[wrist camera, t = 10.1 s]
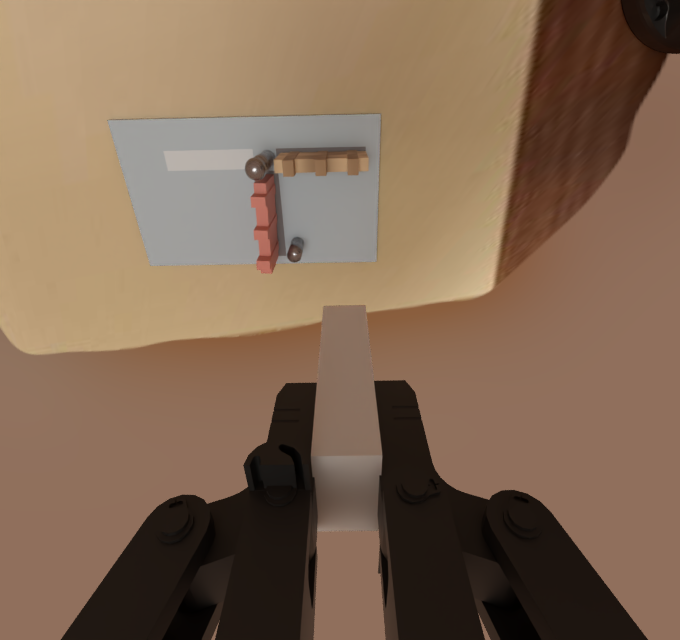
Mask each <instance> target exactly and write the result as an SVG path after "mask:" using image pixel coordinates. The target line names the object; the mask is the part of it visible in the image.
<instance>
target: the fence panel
mask: <svg viewBox="0 0 680 640" xmlns="http://www.w3.org/2000/svg"><path fill="white" fill-rule="evenodd" d="M253 184H254V194H253V195H252V196H251V197H250V198H251V208H256V219H257V226H256V227H255V229H254V230H253V231H254V240H258V242H259V254H260V255H259V257H258V258H257V260H256V264H257V270H261V273H271V274H272V272H273V270H274V267H275V265H276V262H277V259H278V257H279V256H278V250H279V242H278V239H277V214H276V205H275V194H276V190H275V184H274V174H266V175H265V177H264V178H263V179H261V180H259V181H255V182H254V183H253Z"/></svg>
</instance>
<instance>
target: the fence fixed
mask: <svg viewBox="0 0 680 640" xmlns="http://www.w3.org/2000/svg"><path fill="white" fill-rule="evenodd" d="M273 161H274V171H275V173H283V177H294V176H295V174H296V173H310V172H315V175H316V176H326V175H327V172H348V175H359V171H369V157H368V155H367V153H366V151H356V150H347V151H342V152H328V151H318V152H299V151H295V152H289V153H280V154H279V155H278V156H277V157H276V158H275V159H274V160H273Z"/></svg>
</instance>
